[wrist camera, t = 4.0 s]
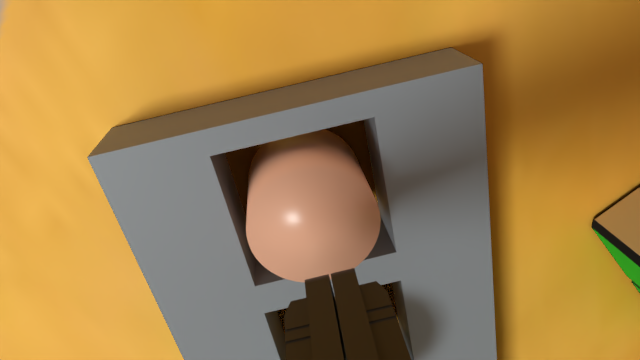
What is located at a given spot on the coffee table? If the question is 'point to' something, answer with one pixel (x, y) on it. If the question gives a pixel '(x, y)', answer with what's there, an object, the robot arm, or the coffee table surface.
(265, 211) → the button terracotta
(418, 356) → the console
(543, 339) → the coffee table surface
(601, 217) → the puzzle cube
